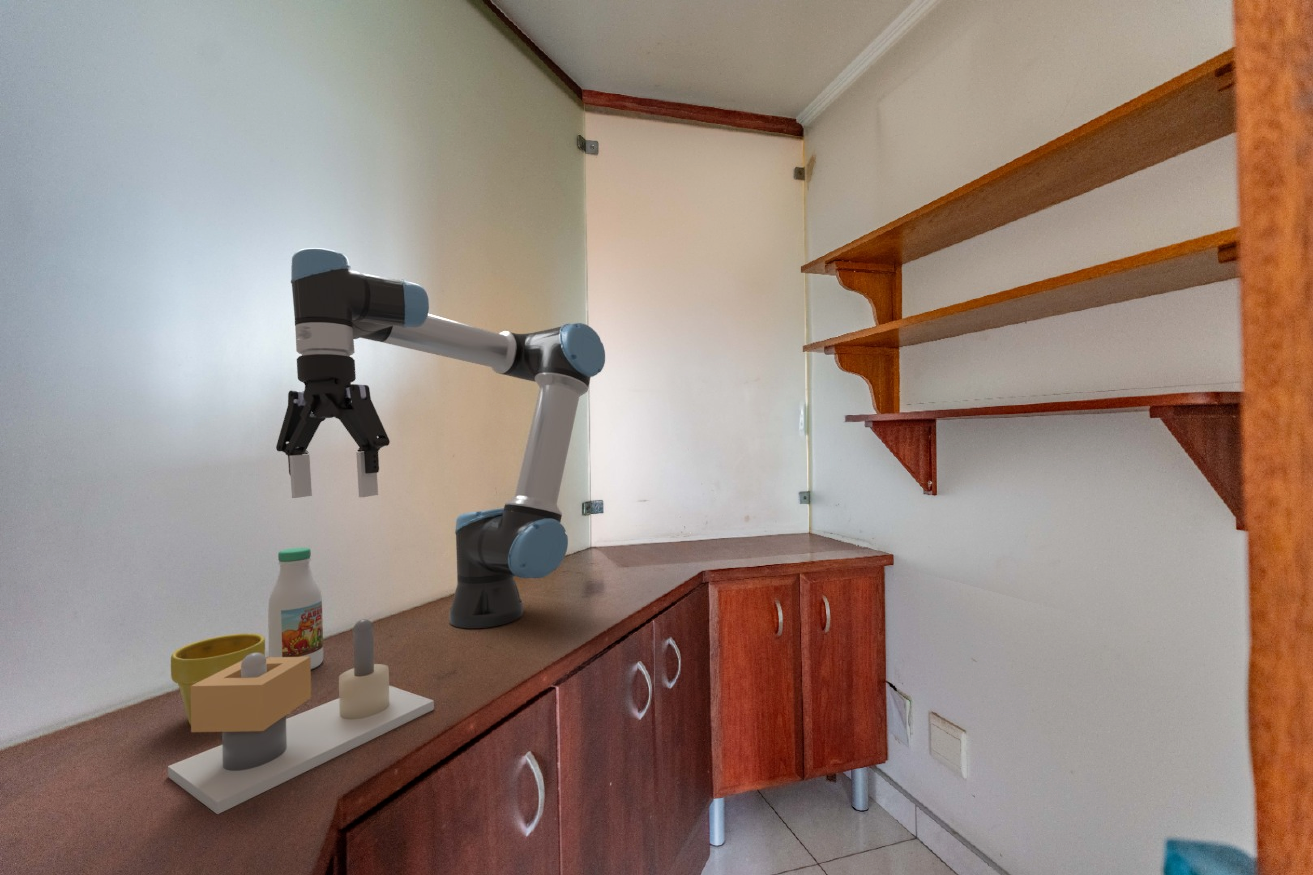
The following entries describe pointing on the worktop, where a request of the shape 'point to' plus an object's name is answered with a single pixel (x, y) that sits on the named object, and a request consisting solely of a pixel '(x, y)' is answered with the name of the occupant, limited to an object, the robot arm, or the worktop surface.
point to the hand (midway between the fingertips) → (334, 496)
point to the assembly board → (300, 732)
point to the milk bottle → (296, 609)
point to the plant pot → (210, 660)
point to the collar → (250, 696)
